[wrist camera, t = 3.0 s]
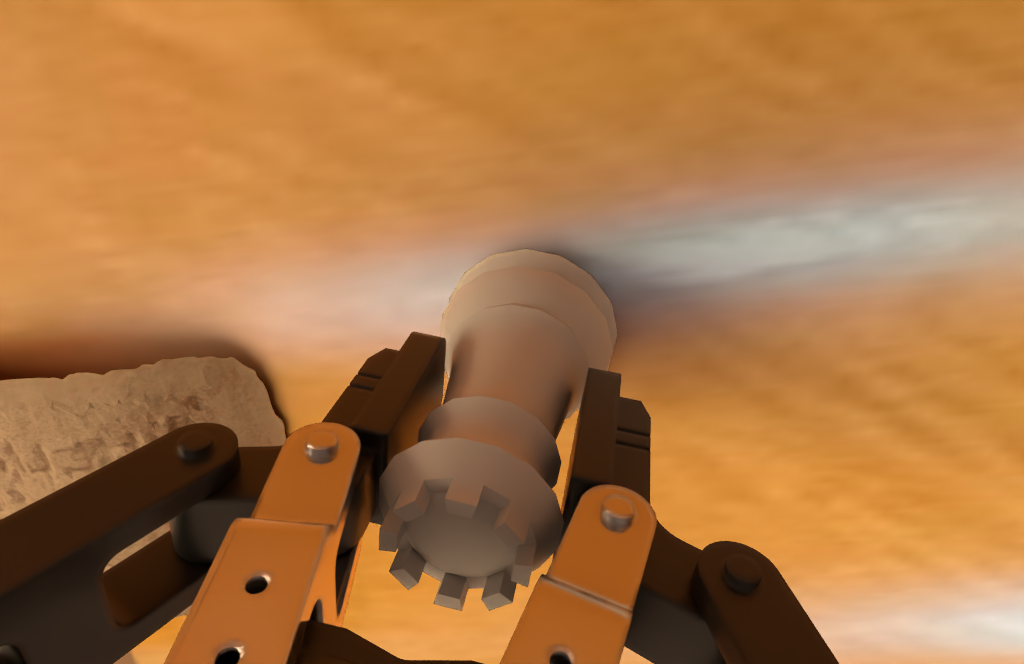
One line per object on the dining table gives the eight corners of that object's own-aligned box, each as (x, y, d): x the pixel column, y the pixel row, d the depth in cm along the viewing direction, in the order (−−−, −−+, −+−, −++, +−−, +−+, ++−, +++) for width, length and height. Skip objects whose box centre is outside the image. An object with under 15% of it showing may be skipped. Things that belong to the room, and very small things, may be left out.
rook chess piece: (433, 355, 18) (300, 589, 11) (479, 214, 16) (348, 401, 9) (579, 413, 18) (537, 681, 11) (647, 281, 16) (644, 518, 9)
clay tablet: (28, 552, 27) (-30, 607, 25) (-114, 345, 22) (-203, 389, 20) (340, 570, 24) (306, 635, 21) (250, 330, 19) (194, 381, 17)
